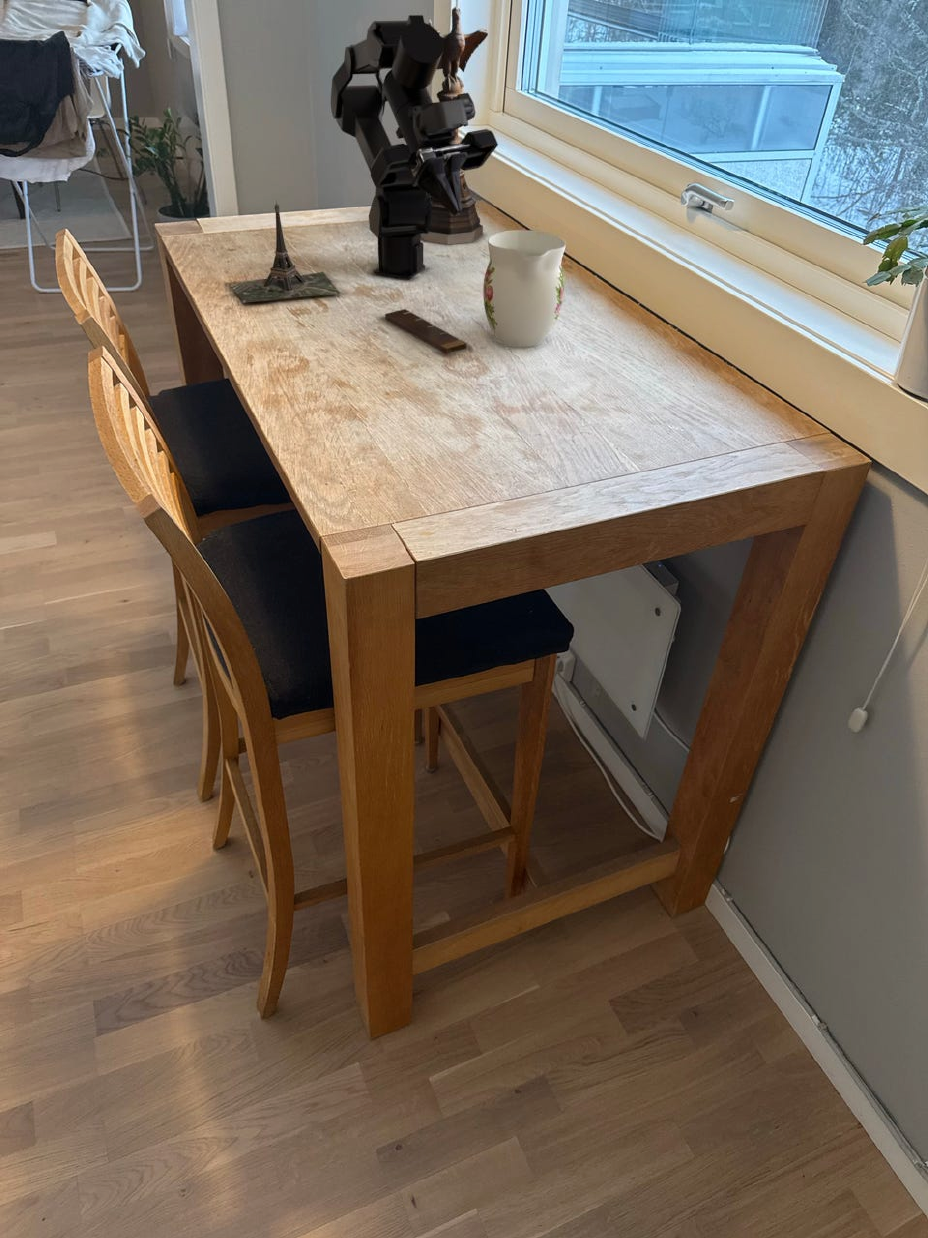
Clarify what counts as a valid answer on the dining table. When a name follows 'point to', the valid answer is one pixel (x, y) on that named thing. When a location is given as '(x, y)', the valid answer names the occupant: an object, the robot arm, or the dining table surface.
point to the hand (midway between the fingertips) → (458, 213)
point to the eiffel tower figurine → (284, 278)
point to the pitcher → (523, 286)
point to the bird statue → (454, 57)
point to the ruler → (426, 331)
